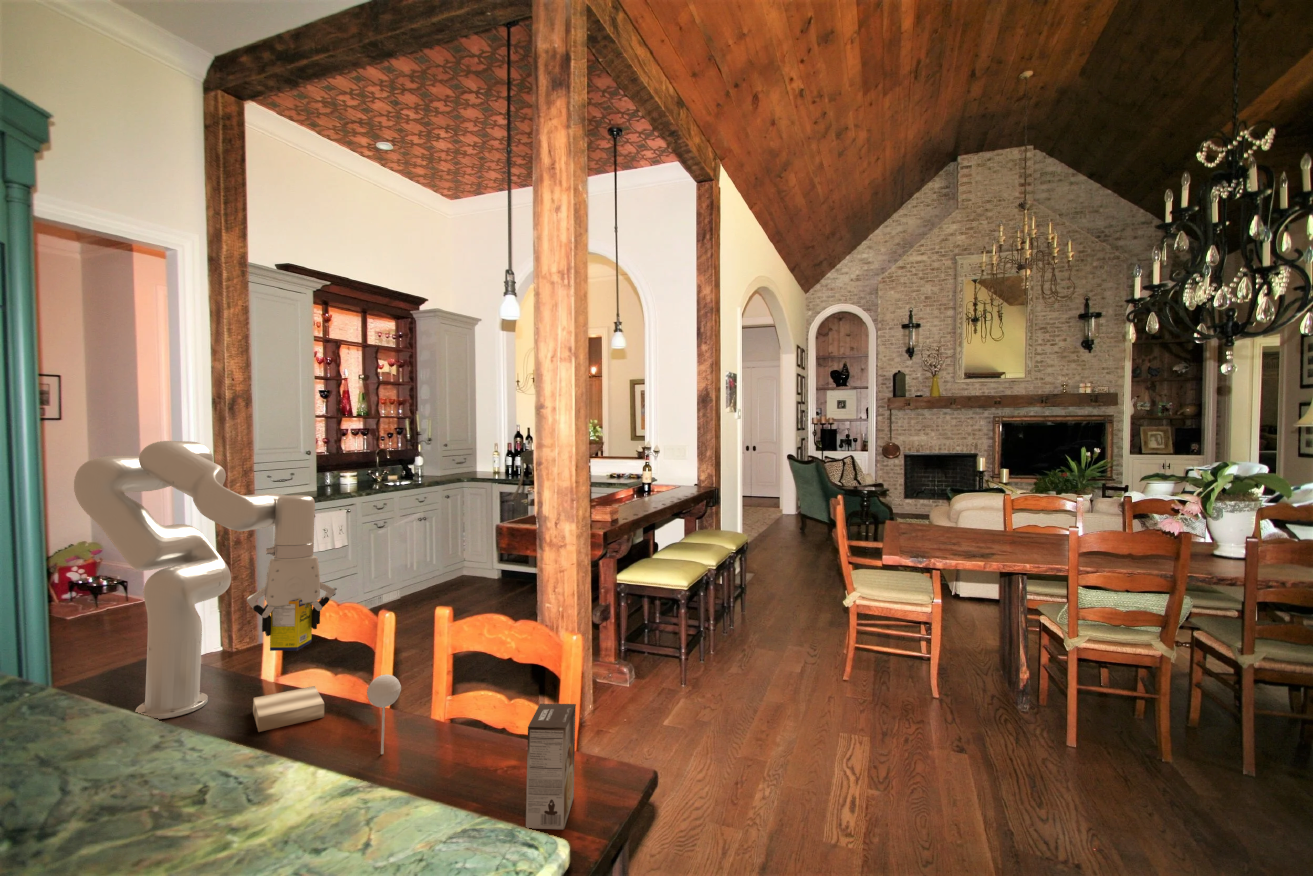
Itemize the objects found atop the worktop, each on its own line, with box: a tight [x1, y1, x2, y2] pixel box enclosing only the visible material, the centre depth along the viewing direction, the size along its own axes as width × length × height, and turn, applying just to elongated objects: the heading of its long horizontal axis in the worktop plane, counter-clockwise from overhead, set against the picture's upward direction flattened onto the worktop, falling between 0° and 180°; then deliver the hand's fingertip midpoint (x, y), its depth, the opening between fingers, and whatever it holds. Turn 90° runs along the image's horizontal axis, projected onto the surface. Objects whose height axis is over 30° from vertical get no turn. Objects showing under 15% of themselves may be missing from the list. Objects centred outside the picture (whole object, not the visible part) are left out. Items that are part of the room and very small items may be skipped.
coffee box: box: [525, 703, 577, 830], centre depth 100 cm, size 9×6×16 cm
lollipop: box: [366, 674, 402, 755], centre depth 117 cm, size 6×6×15 cm
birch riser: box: [252, 685, 325, 733], centre depth 133 cm, size 12×12×3 cm
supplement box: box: [269, 599, 313, 652], centre depth 134 cm, size 6×6×11 cm
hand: (291, 630), depth 134 cm, fingers closed on supplement box, 8 cm apart
